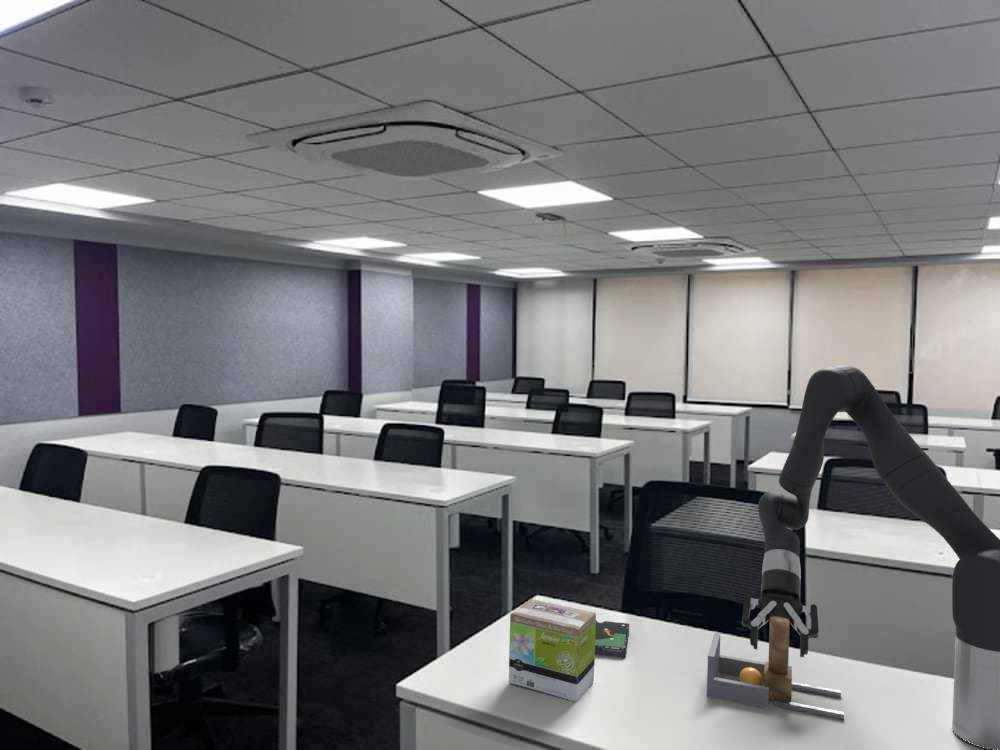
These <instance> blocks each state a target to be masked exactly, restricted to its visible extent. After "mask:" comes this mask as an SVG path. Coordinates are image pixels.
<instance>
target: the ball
mask: <svg viewBox="0 0 1000 750" xmlns="http://www.w3.org/2000/svg"><path fill="white" fill-rule="evenodd" d="M738 679H739V682H744V683H749V684H754V685H760V686H763V683H764V681H763V680H762V676H761V674H760V672H759V671H758V670H756V669H755V668H751V667H747V668H744V669H743V670H742V671H741V672H740V675H739V677H738Z"/></svg>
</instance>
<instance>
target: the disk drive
mask: <svg viewBox="0 0 1000 750" xmlns="http://www.w3.org/2000/svg"><path fill="white" fill-rule="evenodd" d="M629 637H630V623H627V622H626V623H624V622H617V621H606V620H605V621H603V622H599V621H597V619H596V630H595V656H596V655H597V656H603V655H604V656H605V657H610V658H611V657H614V658H621V659H626V656H627V652H628V650H627V649H628V644H629V643H628V642H629Z"/></svg>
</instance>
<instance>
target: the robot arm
mask: <svg viewBox="0 0 1000 750" xmlns="http://www.w3.org/2000/svg"><path fill="white" fill-rule="evenodd" d="M839 412H845V413H846V414H847V415H848V416H849V417H850V418H851V419H852V421H853V422H854V423H855V424H856V425H857V427H858V428H859V429H860V431H861V433H862V434H863V437H864V438H865V439H866V443H867V446H868V450H869V453H870V458H871V461H872V464H873V467H874V469H875V472H876V473H877V475H878V476H879V479H880V480H882V481H883V483H884V485H885V486H886V487H887V489H888V490H889V491H890V492H891V494H892V495H893V497H894V498H896V500H898V502H899V503H900V504H901V505H902V506H903V507H905V509H907V510H908V511H909V512H911V513H912V514H914V515H915V516H916V517H917V518H919V519H920V520H922V522H924V523H926V524H927V525H928V526H929V527H931V528H932V530H933V529H934V530H935V532H937V534H938V535H940V536H941V537H942V538H943V539H944V540H945V542H946V543H947V544H948V545H949V547H950V548H951V550H952V551H953V552H954V553H955V555H956V556H957V557H958V559H959V560H958V561H957V562H956V563H955V565H954V568H953V573H952V584H951V586H952V587H951V590H952V591H951V592H952V594H951V598H952V601H951V602H952V603H951V604H952V606H951V607H952V608H951V610H952V611H951V612H952V615H951V616H952V620H953V622H954V625H955V642H954V644H955V645H954V646H955V647H954V670H953V671H954V672H953V673H954V675H953V697H952V721H951V722H952V723H951V724H952V725H951V727H952V728H951V729H953V730H952V732H953V731H954V732H953V734H954V735H955V734H956V735H955V736H957V735H958V736H959V737H960V738H959V737H958V736H957V737H958V738H959V739H961V738H962V739H964V740H966V741H969V742H970V743H973V744H975V745H979V746H981V747H984V748H988V749H994V750H997V749H998V750H1000V538H999V537H998V536H997V535H996V534H995V533H994V532H993V531H992V530H991V529H990V528H989V527H988V526H987V525H986V524H985V523H984V522H983V521H982V520H981V519H980V518H979V517H978V516H977V514H976V513H975V512H974V510H972V508H971V507H970V506H969V504H968V503H967V502H966V501H965V499H964V498H963V497H962V496H961V494H960V493H959V492H958V491H957V489H956V488H955V487H954V486H953V485H952V484H951V482H950V481H949V480H948V479H947V477H946V476H945V474H944V473H943V472H942V471H941V469H940V468H939V467H938V466H937V465H936V463H935V462H934V461H933V460H932V459H931V458H930V456H929V455H928V454H927V453H926V452H925V450H924V449H923V448H921V446H920V445H919V444H918V443H917V441H916V440H914V438H913V437H912V436H911V434H909V432H908V431H907V429H906V428H905V427H904V426H903V425H902V423H900V421H899V420H898V419H897V417H896V416H895V415H894V414H893V413H892V412H891V410H890V409H889V407H888V405H886V403H885V401H884V399H883V398H882V396H881V395H880V394H879V393H878V391H877V390H876V388H875V386H874V385H873V384H872V382H871V380H870V379H869V378H868V376H867V375H866V374H865V373H864V372H863V371H862V370H860V369H859V368H857V367H855V366H852V365H849V364H848V365H847V364H845V365H844V364H842V365H837V366H830V367H826V368H825V367H823V368H821V369H819V370H817V371H815V372H814V373H813V374H812V375H811V377H810V378H809V379H808V382H807V385H806V389H805V392H804V396H803V401H802V406H801V411H800V415H799V419H798V423H797V428H796V431H795V435H794V438H793V442H792V445H791V449H790V450H789V453H788V456H787V458H786V460H785V463H784V465H783V467H782V470H781V472H780V474H779V477H778V483H779V485H780V487H781V488H782V489H783V490H784V491H786V492H788V493H789V494H791V495H793V496H791V495H788V494H782V493H781V492H780V493H779V492H775V491H767V492H765V493H763V495H761V497H760V499H759V500H758V501H759V502H758V505H757V506H758V509H757V510H758V511H757V512H758V516H759V520H760V523H761V527H762V531H763V535H764V556H763V562H762V568H761V569H762V571H761V588H760V596H759V598H753V597H752V596H751V595H750V594H746V595H744V601H743V606H742V607H743V608H742V615H741V625H742V627H743V628H747V629H749V630H750V632H749V633H750V634H749V636H750V637H749V644H750V646H751V647H753V650H758V645H759V644H758V641H759V630H760V629H761V627H763V626H765V625H766V624H767V623H768V622H770V617H774V616H778V617H783V618H786V619H788V620H789V621H790V624H789V625H791V626H792V627H793V629H794V630H795V631H796V632H797V633H798V635H799V636H800V637H799V638H800V639H799V640H800V641H799V643H800V644H799V648H800V649H799V657H800V658H805V655H806V656H807V655H808V653H809V640H810V639H818V637H819V632H820V631H819V629H820V628H819V617H818V616H819V615H818V614H819V613H818V606H817V605H816V604H815V603H814V604H813V603H812V604H811V605H810V606H809V605H802V602H801V580H802V576H801V574H802V573H801V572H802V571H801V568H802V567H801V562H800V557H801V556H800V553H801V552H800V549H801V547H800V546H801V541H800V537H799V535H798V534H797V533H796V532H794V531H795V530H796V531H797V530H800V529H802V528H803V527H804V526H806V525H807V523H808V520H809V514H810V502H811V496H812V492H813V488H814V485H815V483H816V481H817V479H818V476H819V474H820V472H821V470H822V466H823V464H824V458H825V438H826V434H827V431H828V428H829V426H830V425H831V423H832V421H833V419H834V418H835V416H836V415H837V413H839ZM793 530H794V531H793ZM757 606H758V608H759V610H760V612H759V613H758V614H757V615H756V617H755V618H754V619H753V620H751V619H750V614H751V610H755V608H756V607H757ZM803 613H804V614H805V617H807V618H809V619H810V628H807V627H806V625H805V624H804V623H803V620H802V619H801V618H800V615H802V614H803ZM962 739H961V740H962ZM964 740H963V741H964ZM966 741H965V742H966ZM970 743H969V744H970ZM975 745H974V746H975ZM984 748H983V749H984ZM988 749H987V750H988Z"/></svg>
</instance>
